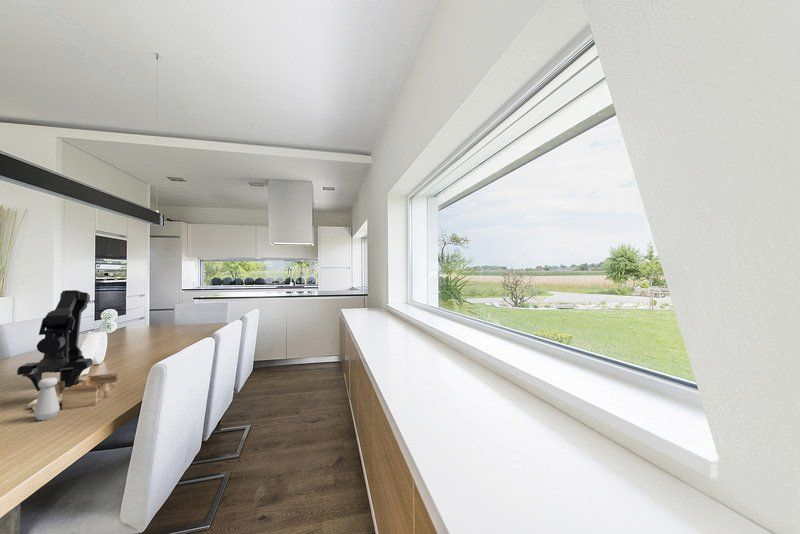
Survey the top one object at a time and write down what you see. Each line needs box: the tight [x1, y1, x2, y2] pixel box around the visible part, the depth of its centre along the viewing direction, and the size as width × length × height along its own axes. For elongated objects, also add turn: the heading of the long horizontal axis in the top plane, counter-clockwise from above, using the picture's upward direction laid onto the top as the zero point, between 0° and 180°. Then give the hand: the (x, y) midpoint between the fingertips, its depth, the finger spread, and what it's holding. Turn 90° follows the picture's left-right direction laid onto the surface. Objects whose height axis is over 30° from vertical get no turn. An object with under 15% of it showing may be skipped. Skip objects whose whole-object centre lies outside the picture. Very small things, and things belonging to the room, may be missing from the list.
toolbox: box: [61, 372, 118, 411], centre depth 123 cm, size 22×9×7 cm, turn 27°
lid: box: [26, 380, 66, 411], centre depth 117 cm, size 17×9×6 cm, turn 27°
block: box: [98, 373, 119, 384], centre depth 122 cm, size 2×5×2 cm, turn 117°
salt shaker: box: [33, 377, 61, 422], centre depth 106 cm, size 6×6×13 cm
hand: (56, 389), depth 120 cm, fingers open, 9 cm apart
